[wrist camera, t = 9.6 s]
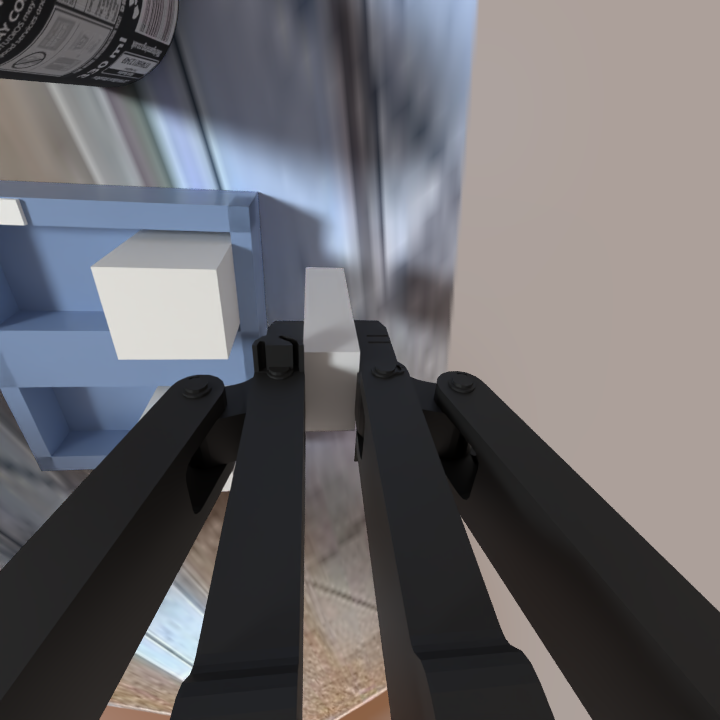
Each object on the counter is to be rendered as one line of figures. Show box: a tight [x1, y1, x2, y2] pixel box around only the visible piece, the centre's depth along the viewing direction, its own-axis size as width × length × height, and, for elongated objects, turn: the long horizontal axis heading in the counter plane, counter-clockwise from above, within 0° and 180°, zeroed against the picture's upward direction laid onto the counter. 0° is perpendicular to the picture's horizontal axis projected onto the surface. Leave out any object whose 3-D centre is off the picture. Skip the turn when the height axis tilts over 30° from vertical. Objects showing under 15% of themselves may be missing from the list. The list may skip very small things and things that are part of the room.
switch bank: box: [0, 180, 267, 471], centre depth 20 cm, size 12×14×3 cm
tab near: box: [91, 229, 240, 360], centre depth 17 cm, size 4×4×5 cm
